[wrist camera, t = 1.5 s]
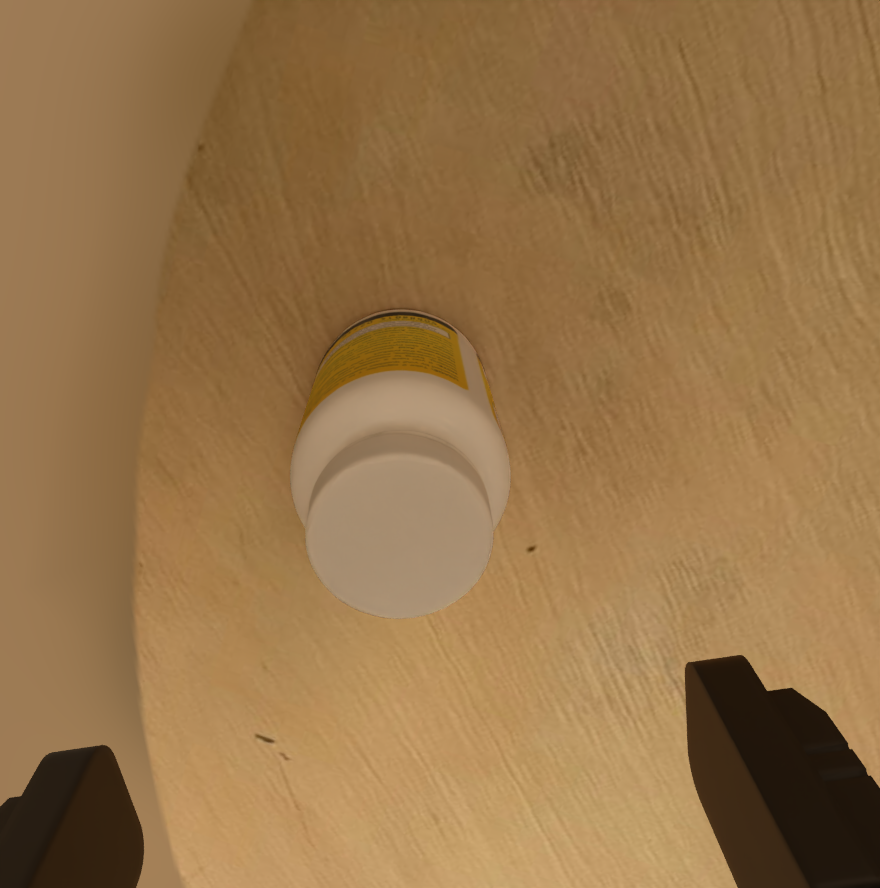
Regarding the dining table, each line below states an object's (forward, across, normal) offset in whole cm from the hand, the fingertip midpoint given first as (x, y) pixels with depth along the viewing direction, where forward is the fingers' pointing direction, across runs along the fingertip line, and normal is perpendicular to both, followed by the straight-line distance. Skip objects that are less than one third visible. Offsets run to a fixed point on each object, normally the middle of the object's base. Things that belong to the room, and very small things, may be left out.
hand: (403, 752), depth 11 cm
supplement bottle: (+16, 0, 0) cm, 16 cm away
